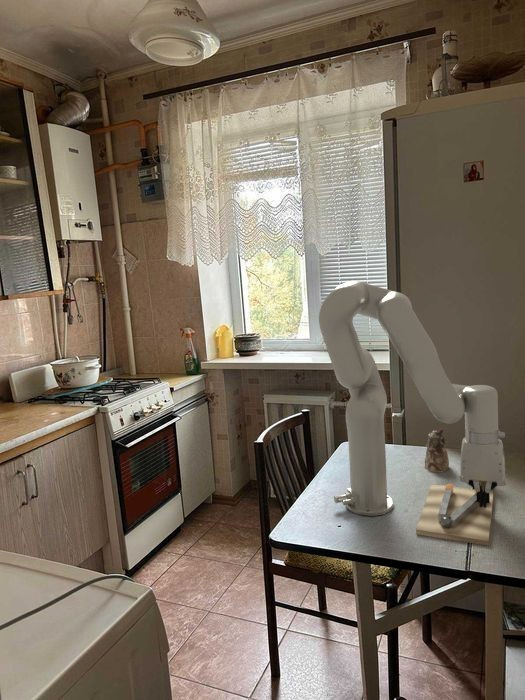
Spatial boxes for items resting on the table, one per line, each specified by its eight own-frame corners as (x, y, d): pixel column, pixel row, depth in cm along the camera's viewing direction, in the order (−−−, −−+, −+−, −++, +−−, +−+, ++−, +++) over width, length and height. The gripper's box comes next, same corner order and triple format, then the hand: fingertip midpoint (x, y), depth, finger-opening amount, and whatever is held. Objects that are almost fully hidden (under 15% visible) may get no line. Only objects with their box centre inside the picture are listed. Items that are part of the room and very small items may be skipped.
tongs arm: (452, 530, 124) (452, 522, 123) (439, 526, 126) (439, 518, 125) (486, 498, 138) (486, 490, 137) (473, 495, 140) (473, 487, 140)
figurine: (419, 465, 165) (419, 429, 163) (438, 461, 167) (438, 425, 165) (434, 473, 158) (433, 435, 156) (453, 469, 160) (453, 431, 158)
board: (488, 545, 119) (488, 540, 119) (416, 534, 126) (415, 529, 126) (493, 495, 142) (493, 491, 142) (431, 488, 149) (431, 484, 149)
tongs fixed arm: (445, 522, 127) (445, 514, 127) (437, 521, 128) (437, 513, 128) (453, 491, 143) (453, 484, 142) (446, 490, 144) (446, 483, 143)
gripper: (515, 432, 129) (516, 502, 132) (451, 428, 136) (453, 495, 139) (515, 443, 123) (516, 516, 126) (447, 438, 129) (450, 508, 132)
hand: (483, 504), depth 132 cm, fingers closed
